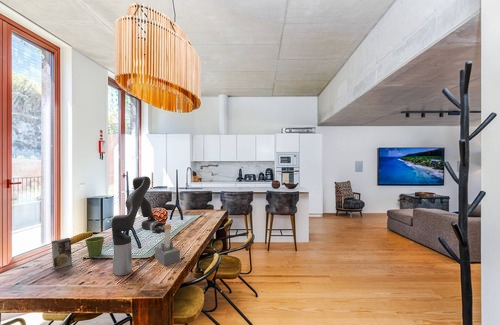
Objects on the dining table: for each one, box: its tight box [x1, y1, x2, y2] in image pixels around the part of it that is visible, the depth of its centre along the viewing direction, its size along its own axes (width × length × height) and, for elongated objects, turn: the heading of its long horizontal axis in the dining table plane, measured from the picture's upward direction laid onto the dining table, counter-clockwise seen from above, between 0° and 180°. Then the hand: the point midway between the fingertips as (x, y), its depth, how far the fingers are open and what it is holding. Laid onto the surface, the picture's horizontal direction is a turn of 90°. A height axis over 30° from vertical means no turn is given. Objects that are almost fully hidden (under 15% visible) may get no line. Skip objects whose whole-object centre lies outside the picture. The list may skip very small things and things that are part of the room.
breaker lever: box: [163, 223, 172, 248], centre depth 162 cm, size 2×4×15 cm, turn 130°
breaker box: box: [154, 240, 181, 267], centre depth 163 cm, size 16×10×11 cm, turn 40°
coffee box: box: [51, 237, 73, 270], centre depth 157 cm, size 9×6×16 cm
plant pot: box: [84, 236, 106, 258], centre depth 173 cm, size 12×12×11 cm
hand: (166, 231), depth 162 cm, fingers closed
